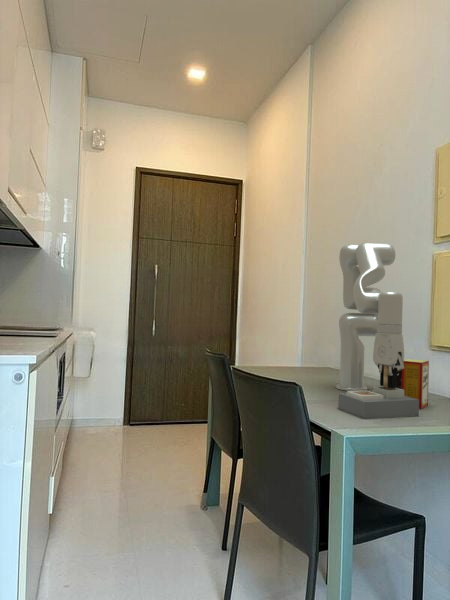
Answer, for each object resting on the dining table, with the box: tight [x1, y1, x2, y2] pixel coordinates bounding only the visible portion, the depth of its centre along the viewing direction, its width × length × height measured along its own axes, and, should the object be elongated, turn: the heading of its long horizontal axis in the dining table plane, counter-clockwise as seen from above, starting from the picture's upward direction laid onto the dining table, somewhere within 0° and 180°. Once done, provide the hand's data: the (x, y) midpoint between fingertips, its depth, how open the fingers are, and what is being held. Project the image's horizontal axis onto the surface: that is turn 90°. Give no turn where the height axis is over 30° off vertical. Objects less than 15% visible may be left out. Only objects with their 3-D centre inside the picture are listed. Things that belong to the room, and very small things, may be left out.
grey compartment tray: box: [337, 386, 420, 420], centre depth 143 cm, size 14×20×8 cm
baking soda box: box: [401, 358, 430, 410], centre depth 155 cm, size 10×6×16 cm
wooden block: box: [382, 364, 394, 390], centre depth 145 cm, size 3×3×10 cm
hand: (388, 386), depth 145 cm, fingers closed on wooden block, 3 cm apart
